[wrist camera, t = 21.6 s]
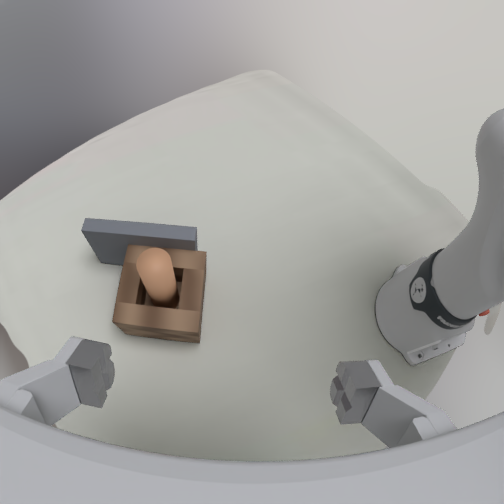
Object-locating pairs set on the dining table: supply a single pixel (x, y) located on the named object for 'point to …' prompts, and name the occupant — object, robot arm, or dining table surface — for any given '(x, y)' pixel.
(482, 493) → the robot arm
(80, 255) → the dining table surface
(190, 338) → the socket block
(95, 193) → the dining table surface
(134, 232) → the wall
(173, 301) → the dowel
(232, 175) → the dining table surface
